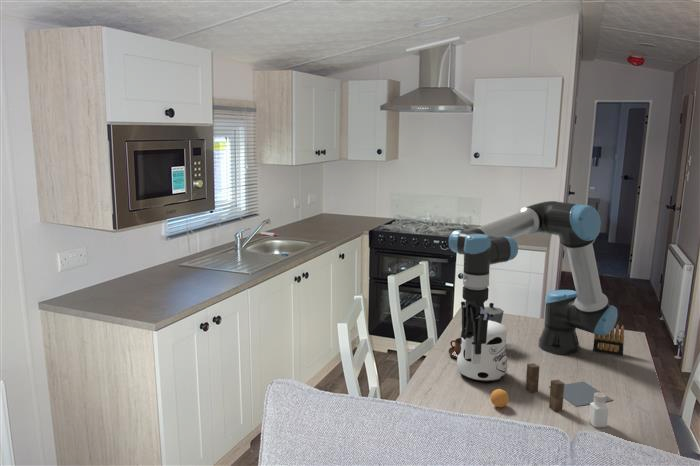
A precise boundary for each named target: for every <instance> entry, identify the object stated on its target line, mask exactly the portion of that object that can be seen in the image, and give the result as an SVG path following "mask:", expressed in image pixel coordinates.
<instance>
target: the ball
mask: <svg viewBox="0 0 700 466" xmlns="http://www.w3.org/2000/svg"><path fill="white" fill-rule="evenodd" d="M490 401H491V403H492V405H493V406H495V407H497V408H504V407H506V406H507V405H508V404H509V401H510V398H509V394H508V393H507V391H505V390H504V389H501V388H497V389H494V390H492V392H491V393H490Z"/></svg>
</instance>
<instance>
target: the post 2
mask: <svg viewBox="0 0 700 466" xmlns="http://www.w3.org/2000/svg"><path fill="white" fill-rule="evenodd" d="M564 384H565V383H564V382H563V381H562V380H560V379H552V380H550V385H549V387H550V388H549V401H548V402H549V403H548V408H549V409H550V410H552V411H553V412H560V411H563V405H564V398H563V394H564Z"/></svg>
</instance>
